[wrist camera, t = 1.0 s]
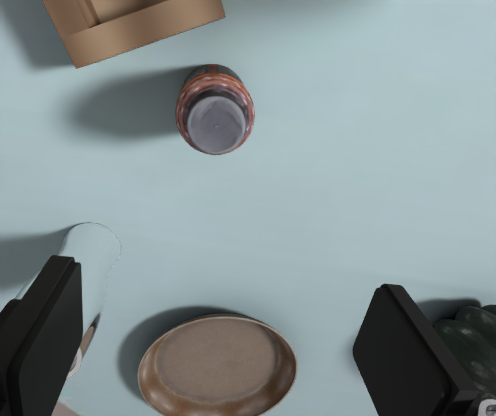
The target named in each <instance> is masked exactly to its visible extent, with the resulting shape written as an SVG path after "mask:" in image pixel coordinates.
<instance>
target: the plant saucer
mask: <svg viewBox="0 0 496 416" xmlns="http://www.w3.org/2000/svg"><path fill="white" fill-rule="evenodd" d="M297 372H298V362H297V357H296V354H295V351H294V349H293V347H292V346H291V344H290V343H289V342H288V340H287V339H286V338H285V337H284V336H283V335H281V334H280V333H279V332H278V331H276V330H275V329H274V328H272V327H271V326H269V325H267V324H265V323H263V322H261V321H259V320H256V319H254V318H250V317H247V316H243V315H237V314H210V315H205V316H200V317H196V318H193V319H190V320H187V321H185V322H182V323H180V324H178V325H177V326H175V327H173V328H171V329H170V330H168V331H167V332H165V333H164V334H163V335H161V336H160V337H159V338H158V339H157V340H156V341H155V342H154V343H153V344H152V345H151V346H150V347H149V348H148V350H147V351H146V352H145V354H144V355H143V357H142V359H141V362H140V364H139V368H138V375H137V378H138V386H139V389H140V392H141V394H142V396H143V398H144V399H145V401H146V402H147V403H148V404H149V405H150V406H151V407H152V408H153V409H154V410H156V411H157V412H158V413H160V414H161V415H163V416H261V415H263V414H265V413H266V412H268V411H270V410H271V409H272V408H274V407H275V406H277V405H278V404H279V403H280V402H281V401H282V400H283V399H284V398H285V397H286V396H287V395H288V393H289V392H290V391H291V389H292V387H293V385H294V383H295V380H296V377H297Z"/></svg>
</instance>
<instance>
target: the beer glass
mask: <svg viewBox="0 0 496 416" xmlns="http://www.w3.org/2000/svg"><path fill="white" fill-rule="evenodd" d="M120 255H121V243H120V240H119V239H118V237H117V236H116V234H115V233H114V232H113V231H111V230H110V229H109V228H107V227H105V226H103V225H100V224H96V223H83V224H79V225H77V226H75V227H73V228H72V229H70V230H69V231H68V233H67V234H66V236H65V238H64V241H63V244H62V248H61V250H60V252H59V253H58V254H57V256H68V257H74V259H75V262H80V263H81V272H82V305H83V337H82V341H81V344H80V347H79V349H78V351H77V354H76V356H75V359H74V361H73V364H72V366H71V368H70V371H69V373H68V376H67V378H66V379H68V378H69V377H71V376H72V375H73V374H75V373H76V371H77V370H78V369H79V367H80V365H81V362H82V360H83V358H84V356H85V354H86V352H87V350H88V348H89V346H90V344H91V342H92V340H93V337H94V335H95V333H96V330H97V328H98V325H99V322H100V319H101V316H102V313H103V308H104V303H105V297H106V288H107V280H108V275H109V272H110V270H111V269H112V267H113V266H114V265H115V264H116V263H117V261H118V260H119V258H120ZM42 269H43V268H42ZM42 269H41V270H42ZM41 270H40V271H41ZM40 271H38V272H37V273H36V274H35V275H34V276H33V277H32V278H31V279H30V280H29V281H28V282H27V283H26V284H25V285H24V287H23V288H22V289H21V290H20V292H19V293H18V294H17V295H16V297H15V298H14V299H22V297H23V296H24V294H25V293H26V292H27V290H28V289H29V287H30V286H31V284H32V283H33V282H34V280H35V279H36V277H37V276H38V274H39V273H40Z"/></svg>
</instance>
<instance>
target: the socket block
mask: <svg viewBox="0 0 496 416" xmlns="http://www.w3.org/2000/svg"><path fill="white" fill-rule="evenodd" d="M42 1H43V3H44V5H45V7H46V9H47V11H48V13H49V15H50V17H51V19H52V21H53V23H54V25H55V27H56V29H57V31H58V33H59V35H60V37H61V39H62V41H63V43H64V45H65V47H66V49H67V51H68V53H69V55H70V57H71V59H72V61H73V63H74V65H75V67H76V69H77V68H80V67H84V66H87V65H90V64H93V63H96V62H99V61H102V60H105V59H108V58H111V57H113V56H116V55H119V54H122V53H125V52H128V51H131V50H133V49H136V48H139V47H142V46H145V45H148V44H151V43H153V42H156V41H159V40H162V39H165V38H168V37H171V36H173V35H176V34H179V33H182V32H185V31H188V30H191V29H193V28H196V27H199V26H202V25H205V24H208V23H211V22H213V21H216V20H219V19H222V18H224V17H226V16H225V13H224V10H223V6H222V3H221V0H42Z"/></svg>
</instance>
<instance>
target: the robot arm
mask: <svg viewBox="0 0 496 416" xmlns="http://www.w3.org/2000/svg"><path fill="white" fill-rule="evenodd" d="M82 337H83V305H82V272H81V263H80V262H75V259H74V257H68V256H57V255H53V256H51V257H50V259H49V260H48V261H47V263H46V264H45V266H44V267H43V269H42V270H41V271H40V273H39V274H38V276H37V277H36V279H35V280H34V282H33V283H32V284H31V286H30V287H29V289H28V290H27V292H26V293H25V294H24V296H23V297H22V299H12V300H10V301H9V302H8V303H7V304H6V306H5V307H4V308H3V310H2V311H1V312H0V416H51V415H52V412H53V410H54V407H55V405H56V403H57V400H58V398H59V395H60V393H61V390H62V388H63V386H64V383H65V381H66V378H67V376H68V373H69V371H70V368H71V366H72V364H73V361H74V359H75V356H76V354H77V351H78V349H79V347H80V344H81V341H82ZM353 357H354V359H355V362H356V364H357V366H358V369H359V371H360V373H361V376H362V378H363V380H364V383H365V385H366V387H367V390H368V392H369V394H370V397H371V399H372V401H373V403H374V406H375V408H376V410H377V413H378V415H379V416H496V400H494V399H487V400H484V401H481V400H480V399H479V397H478V396H477V395H478V393H479V392H480V390H479V389H478V388H477V386H476V385H475V384H474V382H473V381H472V380H471V378H470V377H469V375H468V374H467V373H466V371H465V370H464V369H463V367H462V366H461V365H460V363H459V362H458V361H457V359H456V358H455V357H454V355H453V354H452V352H451V351H450V350H449V348H448V347H447V346H446V344H445V343H444V342H443V340H442V339H441V338H440V336H439V335H438V334H437V332H436V331H435V329H434V328H433V327H432V325H431V324H430V323H429V321H428V320H427V319H426V317H425V316H424V315H423V313H422V312H421V310H420V309H419V308H418V306H417V305H416V304H415V302H414V301H413V300H412V298H411V297H410V296H409V294H408V293H407V292H406V290H405V289H404V288H403V287H402V286H401V285H393V284H383V285H381V287H380V288H377V289H376V290H375V292H374V295H373V298H372V300H371V303H370V305H369V308H368V310H367V313H366V315H365V318H364V320H363V323H362V325H361V328H360V330H359V333H358V335H357V338H356V340H355V343H354V346H353Z"/></svg>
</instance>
